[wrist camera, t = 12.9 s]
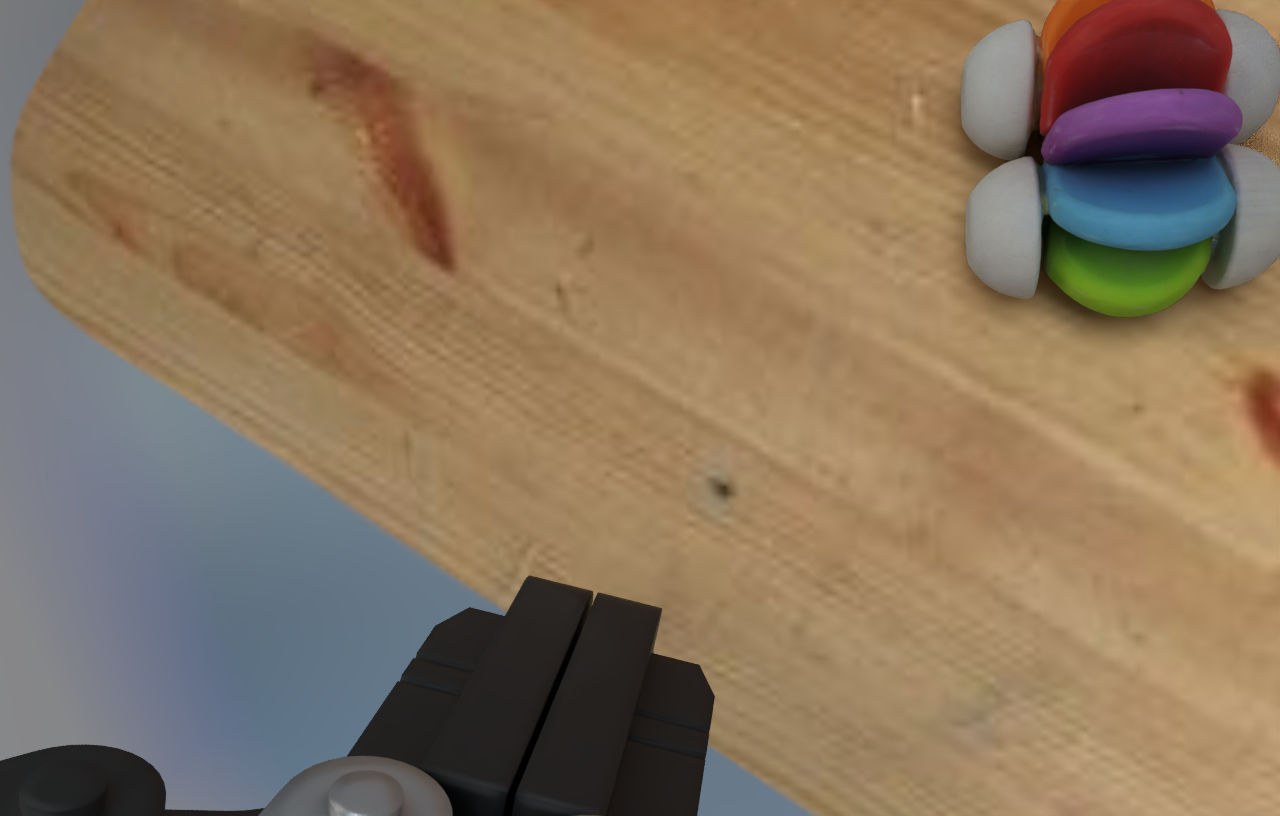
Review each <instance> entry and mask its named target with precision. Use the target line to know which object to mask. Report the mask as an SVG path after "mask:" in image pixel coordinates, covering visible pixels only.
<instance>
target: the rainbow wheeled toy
mask: <svg viewBox="0 0 1280 816" xmlns="http://www.w3.org/2000/svg"><path fill="white" fill-rule="evenodd" d="M1279 93H1280V51H1279V48H1278V46H1277V44H1276V42H1275V41H1274V39H1273V37H1272V36H1271V35H1270V34H1269V32H1268V31H1267V30H1266V29H1265V28H1264V27H1263V26H1262V25H1261V24H1259V23H1258V22H1256V21H1255V20H1253V19H1252V18H1250V17H1248V16H1246V15H1243V14H1241V13H1238V12H1233V11H1229V10H1222V9H1218V10H1215V7H1214V4H1213V2H1212V0H1058V1H1057V2H1056V4H1055V5H1054V7H1053V8H1052V10H1051V12H1050V14H1049V16H1048V17H1047V20H1046V22H1045V24H1044V27H1043V30H1042V33H1041V36H1040V37H1038V36H1037V35H1035V33H1034V30H1033V28H1032V25H1031V23H1030V22H1029V21H1028V20H1018V21H1015V22H1011V23H1008V24H1006V25H1003V26H1001V27H999V28H997V29H996V30H994V31H992V32H991V33H989V34H988V35H987V36H985V37H984V38H983V39H982V40H980V41H979V42H978V43H977V45H976V46H975V47H974V48H973V49H972V50H971V52H970V53H969V54H968V55H967V57H966V59H965V62H964V66H963V74H962V88H961V122H962V127H963V129H964V131H965V133H966V134H967V136H968V137H969V138H970V139H971V141H972V142H973V143H974V144H975V145H977V146H978V147H979V148H980V149H982V150H983V151H984V152H986V153H988V154H990V155H992V156H994V157H997V158H1000V159H1003V160H1008V161H1010V162H1007V163H1005V164H1003V165H1001V166H999V167H997V168H996V169H994V170H993V171H991V172H990V173H988V174H987V175H986V176H985V177H984V178H983V179H982V180H981V181H980V182H979V183H978V184H977V186H976V187H975V188H974V189H973V191H972V192H971V194H970V196H969V198H968V201H967V206H966V221H965V246H966V256H967V261H968V264H969V266H970V268H971V269H972V270H973V272H974V273H975V274H976V275H977V277H978V278H979V279H980V280H981V281H983V282H984V283H985V284H986V285H988V286H989V287H991V288H992V289H994V290H996V291H997V292H1000V293H1002V294H1004V295H1008V296H1011V297H1016V298H1022V299H1028V298H1032V297H1033V296H1034V294H1035V290H1036V287H1037V283H1038V277H1039V271H1040V261H1041V244H1042V240H1043V262H1044V267H1045V270H1046V272H1047V274H1048V276H1049V278H1050V279H1051V280H1052V281H1053V282H1055V283H1056V284H1057V286H1058V287H1059V288H1060V289H1061V290H1062V291H1064V292H1065V293H1066V294H1067V295H1068V296H1070V297H1071V298H1072V299H1074V300H1075V301H1077V302H1078V303H1080V304H1082V305H1083V306H1085V307H1087V308H1089V309H1091V310H1094V311H1096V312H1099V313H1102V314H1105V315H1109V316H1114V317H1135V316H1145V315H1149V314H1152V313H1156V312H1158V311H1161V310H1163V309H1165V308H1167V307H1169V306H1171V305H1172V304H1174V303H1175V302H1177V301H1178V300H1179V299H1181V298H1182V297H1183V296H1184V295H1185V294H1186V293H1187V292H1188V291H1189V290H1190V289H1191V288H1192V287H1193V286H1194V284H1195V283H1196V281H1197V280H1198V278H1199V277H1200V275H1201V276H1202V278H1203V280H1204V282H1205V283H1206V284H1207V285H1208V286H1210V287H1211V288H1213V289H1226V288H1230V287H1234V286H1237V285H1240V284H1243V283H1245V282H1247V281H1249V280H1251V279H1253V278H1255V277H1256V276H1258V275H1259V274H1261V273H1262V272H1264V271H1265V270H1266V269H1267V268H1268V267H1269V266H1271V265H1272V264H1273V263H1274V262H1275V261H1276V260H1277V259H1278V258H1279V256H1280V168H1279V167H1278V166H1277V165H1276V164H1275V163H1274V162H1273V161H1272V160H1271V159H1269V158H1268V157H1266V156H1265V155H1263V154H1261V153H1260V152H1258V151H1255V150H1253V149H1250V148H1247V147H1244V146H1240V145H1239V144H1241V143H1242V142H1244V141H1246V140H1247V139H1248V138H1250V137H1251V136H1252V135H1253V134H1254V133H1256V132H1257V131H1258V130H1259V129H1260V128H1261V127H1262V126H1263V125H1264V123H1265V122H1266V121H1267V119H1268V118H1269V117H1270V115H1271V114H1272V112H1273V110H1274V108H1275V106H1276V103H1277V100H1278V97H1279ZM1033 131H1038V134H1039V141H1040V143H1043V145H1042V148H1041V153H1042V155H1043V158H1044V164H1043V165H1038V164H1037V163H1036V162H1035V160H1034V158H1033V157H1024V154H1025V152H1026V150H1027V143H1028V141H1029V138H1030V134H1031V132H1033ZM1041 235H1042V238H1041Z"/></svg>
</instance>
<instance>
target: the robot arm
mask: <svg viewBox="0 0 1280 816" xmlns="http://www.w3.org/2000/svg"><path fill="white" fill-rule="evenodd" d="M592 601H593V591H590V590H586V589H582V588H578V587H574V586H570V585H566V584H562V583H558V582H554V581H550V580H546V579H541V578H537V577H533V576H528V577H527V578H526V580H525V581H524V583H523V585H522V587H521V588H520V590H519V592H518V594H517V596H516V597H515V599H514V601H513V603H512V604H511V606H510V608H509V610H508V612H507V613H506V615H505V616H502V615H498V614H494V613H490V612H486V611H482V610H478V609H474V608H470V607H469V608H467V609H466V610H464V611H462V612H460V613H458V614H456V615H454V616H453V617H451V618H449V619H447V620H445V621H443V622H441V623H440V624H438V625H436V626H435V627H434V628H433V630H432V631H431V633H430V634H429V636H428V637H427V639H426V640H425V642H424V643H423V645H422V646H421V648H420V649H419V651H418V652H417V656H416V658H415V659H414V658H413V660H412V661H411V662H410V664H409V665H408V667H407V669H406V670H405V671H404V673H403V674H402V677H401V680H400V682H399V681H398V682H397V683H396V685H395V686H394V688H393V689H392V690H391V692H390V693H389V695H388V696H387V698H386V699H385V701H384V702H383V704H382V705H381V707H380V708H379V710H378V711H377V713H376V714H375V716H374V717H373V719H372V720H371V721H370V723H369V725H368V726H367V727H366V729H365V730H364V732H363V733H362V735H361V736H360V738H359V739H358V741H357V742H356V744H355V745H354V747H353V748H352V749H351V751H350V753H349V754H348V755H347V757H342V758H338V759H332V760H328V761H325V762H322V763H319V764H316V765H314V766H312V767H310V768H308V769H306V770H304V771H302V772H301V773H299V774H298V775H297V776H295V777H293V779H291V780H290V781H289V782H288V783H287V784H286V785H285V786H284V787H283V788H282V789H281V790H280V791H279V793H278V794H277V795H276V796H275V797H274V799H272V801H271V802H270V803H269V804H268V805H267V806H266V807H265V808H262V809H255V810H245V811H206V810H165V801H166V790H165V786H164V782H163V780H162V778H161V776H160V774H159V773H158V771H157V770H156V769H155V768H154V767H153V766H152V765H151V764H149V763H148V762H147V761H145V760H144V759H143V758H141V757H139V756H137V755H135V754H133V753H130V752H127V751H124V750H121V749H118V748H112V747H107V746H100V745H99V746H98V745H66V746H59V747H51V748H47V749H43V750H38V751H34V752H31V753H27V754H23V755H20V756H16V757H12V758H9V759H5V760H2V761H0V816H697V812H698V805H699V799H700V792H701V785H702V779H703V772H704V765H705V757H706V752H707V745H708V739H709V730H710V725H711V718H712V712H713V705H714V698H715V696H714V694H713V692H712V690H711V688H710V686H709V684H708V682H707V680H706V677H705V675H704V673H703V671H702V669H701V667H700V665H698V664H694V663H690V662H686V661H682V660H678V659H674V658H670V657H666V656H662V655H658V654H654V653H653V649H654V644H655V640H656V636H657V631H658V627H659V622H660V618H661V613H662V608H659V607H655V606H651V605H647V604H643V603H639V602H635V601H631V600H627V599H623V598H619V597H615V596H611V595H607V594H603V593H597V595H596V598H595V600H594V602H593V605H592Z"/></svg>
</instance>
